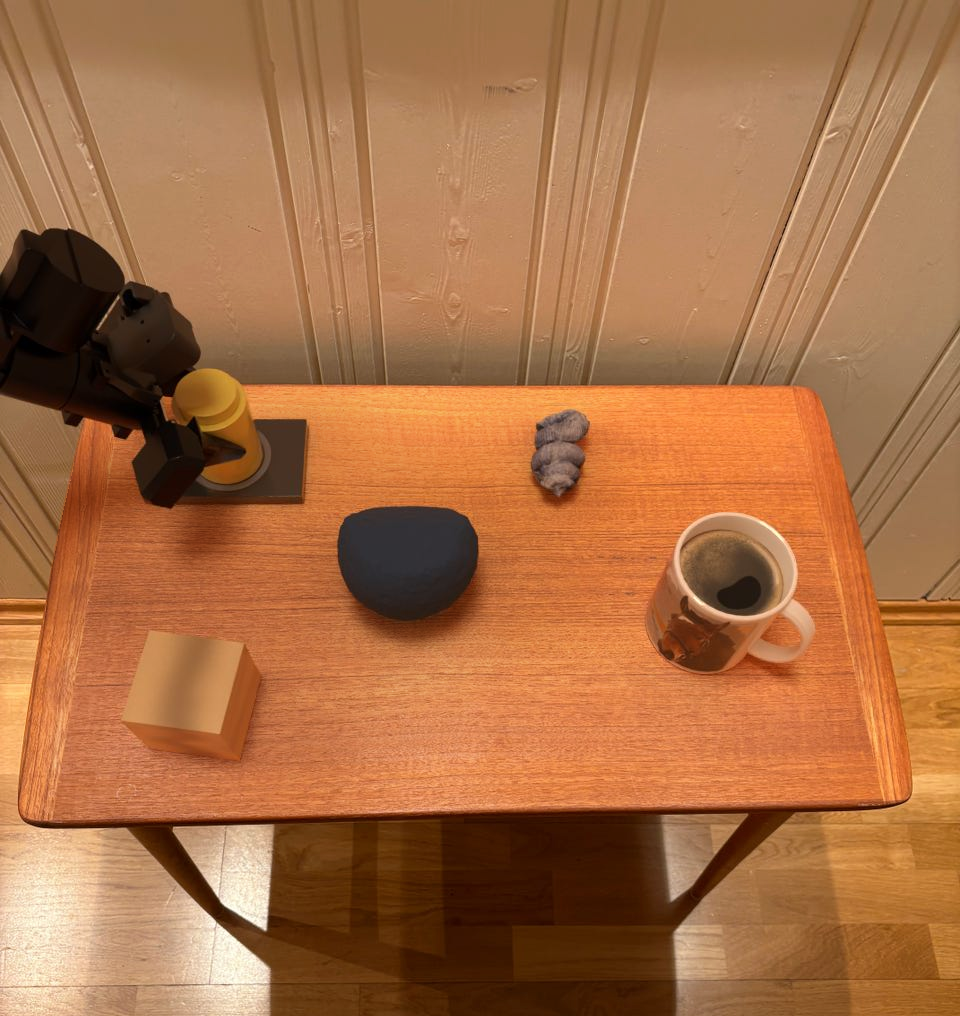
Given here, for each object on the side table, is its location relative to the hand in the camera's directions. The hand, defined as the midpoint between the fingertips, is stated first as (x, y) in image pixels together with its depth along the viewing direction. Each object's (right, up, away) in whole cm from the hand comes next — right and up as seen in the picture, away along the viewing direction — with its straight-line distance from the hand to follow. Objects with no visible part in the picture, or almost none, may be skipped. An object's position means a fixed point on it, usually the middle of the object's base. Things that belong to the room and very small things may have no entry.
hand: (233, 425), depth 79 cm
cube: (-1, -25, -6) cm, 26 cm away
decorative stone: (+16, -14, 0) cm, 22 cm away
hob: (-1, -3, +5) cm, 5 cm away
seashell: (+30, -3, +6) cm, 31 cm away
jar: (-1, -2, +3) cm, 4 cm away
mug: (+43, -19, -1) cm, 47 cm away
